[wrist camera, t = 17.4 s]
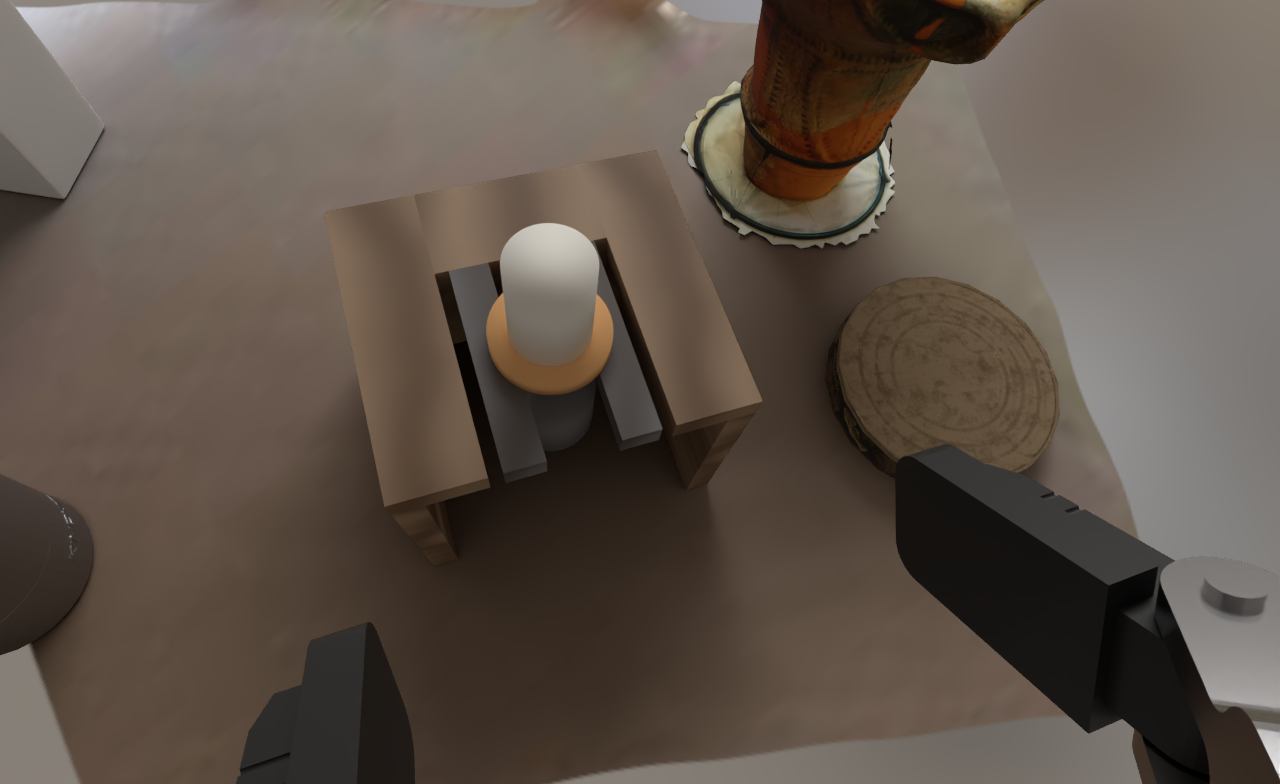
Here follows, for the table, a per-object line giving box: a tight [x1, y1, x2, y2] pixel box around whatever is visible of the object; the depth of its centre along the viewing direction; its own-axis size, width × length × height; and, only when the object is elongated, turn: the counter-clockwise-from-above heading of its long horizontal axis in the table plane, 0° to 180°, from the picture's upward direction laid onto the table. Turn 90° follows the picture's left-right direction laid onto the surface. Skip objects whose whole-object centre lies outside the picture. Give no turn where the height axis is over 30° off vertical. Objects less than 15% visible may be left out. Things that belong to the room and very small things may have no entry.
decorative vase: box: [681, 0, 1044, 248], centre depth 47 cm, size 21×23×28 cm
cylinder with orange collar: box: [486, 223, 614, 451], centre depth 36 cm, size 6×6×16 cm
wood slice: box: [826, 277, 1059, 478], centre depth 52 cm, size 16×16×3 cm
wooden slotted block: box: [324, 150, 763, 566], centre depth 42 cm, size 18×16×14 cm
